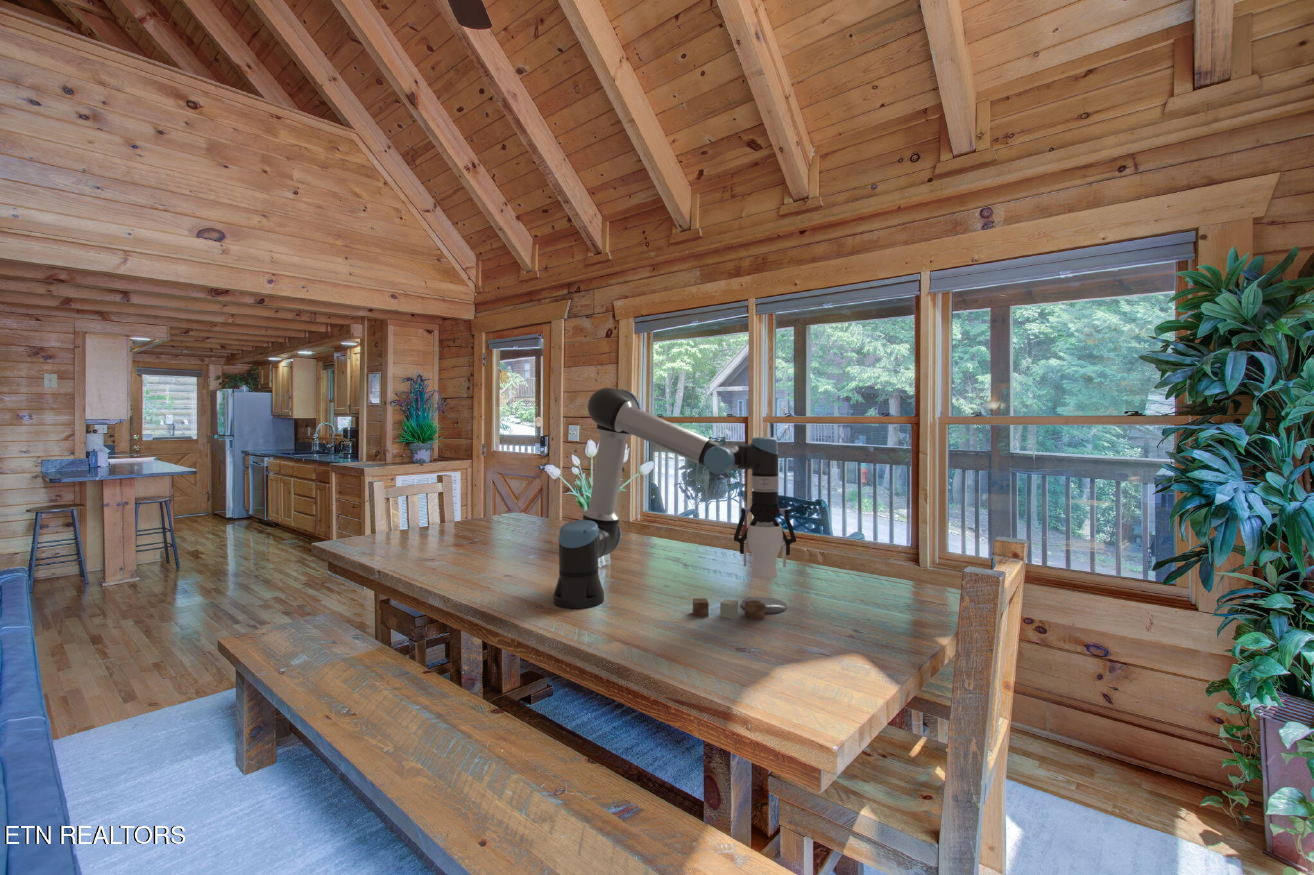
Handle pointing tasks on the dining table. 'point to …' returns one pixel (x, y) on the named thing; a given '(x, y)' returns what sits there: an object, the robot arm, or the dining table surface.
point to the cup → (764, 548)
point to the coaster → (769, 604)
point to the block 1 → (700, 607)
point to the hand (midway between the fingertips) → (764, 565)
